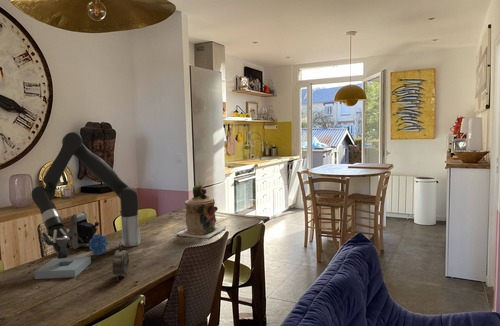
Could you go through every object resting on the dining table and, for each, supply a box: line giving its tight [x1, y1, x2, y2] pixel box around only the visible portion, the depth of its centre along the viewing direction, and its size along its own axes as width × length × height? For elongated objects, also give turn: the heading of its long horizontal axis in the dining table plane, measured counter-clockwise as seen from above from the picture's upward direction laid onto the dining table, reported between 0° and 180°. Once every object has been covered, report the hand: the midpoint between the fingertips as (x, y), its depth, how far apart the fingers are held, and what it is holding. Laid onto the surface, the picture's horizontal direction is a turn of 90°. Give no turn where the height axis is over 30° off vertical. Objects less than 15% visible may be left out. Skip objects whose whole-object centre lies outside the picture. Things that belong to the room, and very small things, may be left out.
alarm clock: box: [112, 241, 130, 282], centre depth 163 cm, size 11×5×16 cm, turn 5°
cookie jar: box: [175, 181, 227, 239], centre depth 232 cm, size 25×25×32 cm
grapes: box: [89, 233, 109, 256], centre depth 196 cm, size 12×7×12 cm, turn 72°
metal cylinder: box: [56, 234, 69, 259], centre depth 173 cm, size 5×5×10 cm
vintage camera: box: [70, 211, 100, 250], centre depth 211 cm, size 10×16×20 cm, turn 78°
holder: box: [33, 256, 92, 280], centre depth 174 cm, size 18×18×3 cm
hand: (63, 249), depth 172 cm, fingers closed on metal cylinder, 4 cm apart
